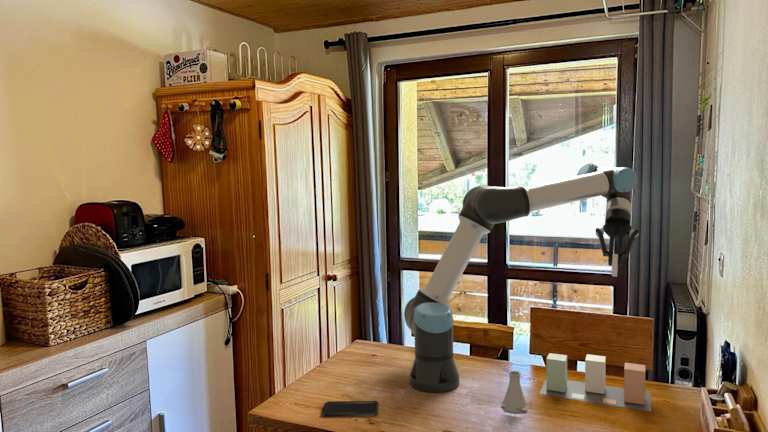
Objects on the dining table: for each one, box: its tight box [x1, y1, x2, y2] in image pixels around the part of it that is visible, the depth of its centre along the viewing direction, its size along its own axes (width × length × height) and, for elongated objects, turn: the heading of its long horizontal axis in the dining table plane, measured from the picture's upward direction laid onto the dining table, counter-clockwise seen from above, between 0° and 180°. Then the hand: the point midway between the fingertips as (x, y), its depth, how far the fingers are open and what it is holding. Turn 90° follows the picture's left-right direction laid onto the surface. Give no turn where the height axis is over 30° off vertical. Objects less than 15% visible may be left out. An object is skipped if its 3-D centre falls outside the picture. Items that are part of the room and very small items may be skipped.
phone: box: [321, 400, 379, 418], centre depth 142 cm, size 8×1×15 cm
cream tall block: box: [584, 353, 607, 394], centre depth 147 cm, size 5×5×9 cm
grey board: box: [539, 378, 652, 412], centre depth 146 cm, size 28×13×2 cm, turn 64°
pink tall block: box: [623, 362, 646, 405], centre depth 140 cm, size 5×5×9 cm
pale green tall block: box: [545, 352, 568, 392], centre depth 149 cm, size 5×5×9 cm
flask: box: [500, 370, 528, 415], centre depth 141 cm, size 7×7×10 cm
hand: (614, 273), depth 158 cm, fingers closed
